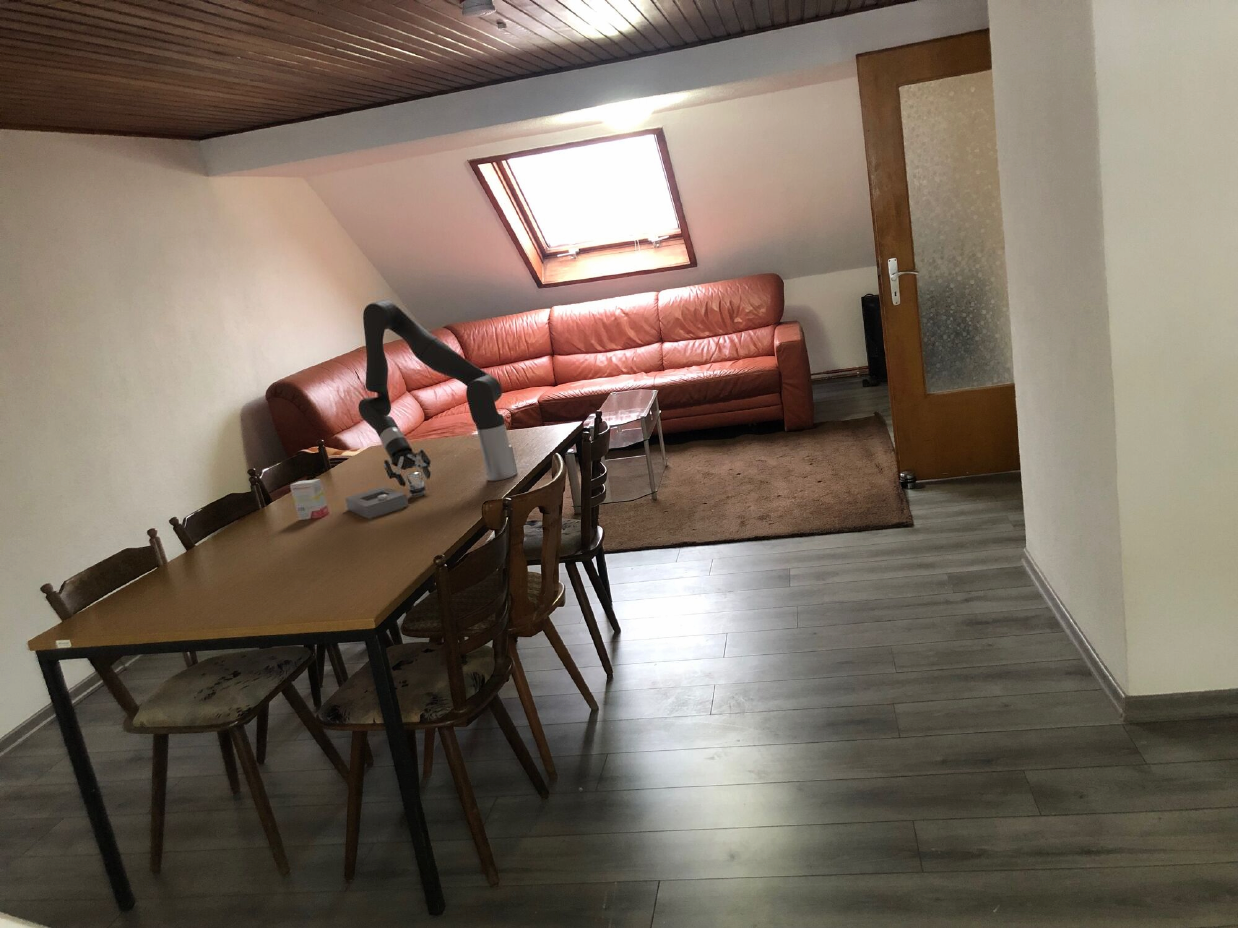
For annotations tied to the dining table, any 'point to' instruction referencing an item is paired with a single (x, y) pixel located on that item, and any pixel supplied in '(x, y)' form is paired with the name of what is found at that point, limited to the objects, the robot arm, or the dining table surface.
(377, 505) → the grey slotted tray
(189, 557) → the dining table surface
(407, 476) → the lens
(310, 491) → the ink box
